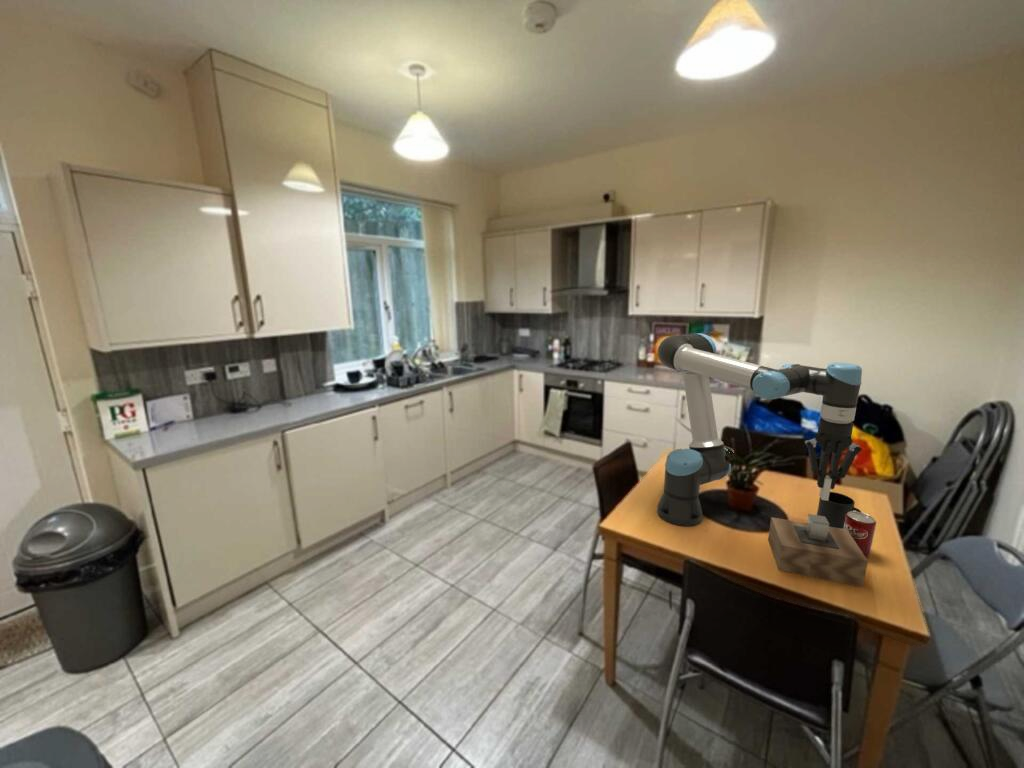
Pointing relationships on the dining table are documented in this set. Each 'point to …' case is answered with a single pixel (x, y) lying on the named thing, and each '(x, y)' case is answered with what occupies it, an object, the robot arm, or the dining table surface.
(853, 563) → the socket block
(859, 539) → the soda can
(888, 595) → the dining table surface
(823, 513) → the mug
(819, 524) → the peg
